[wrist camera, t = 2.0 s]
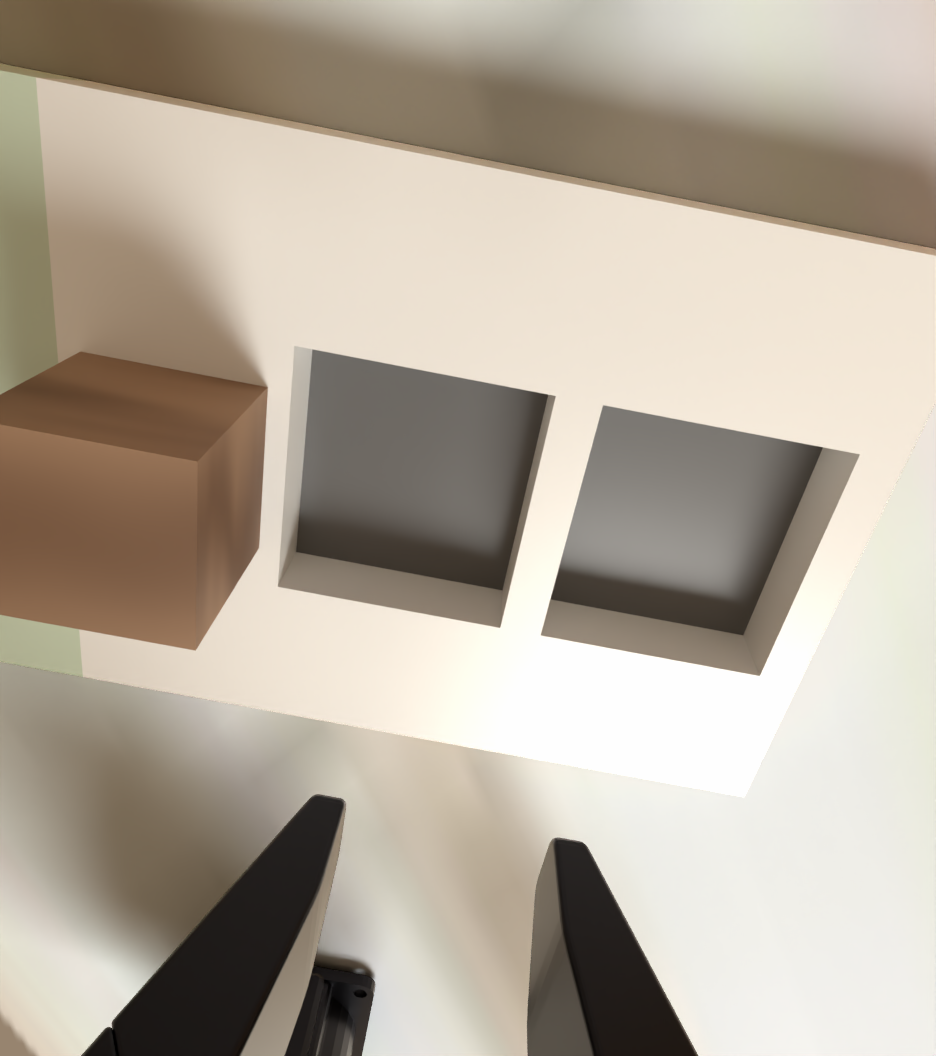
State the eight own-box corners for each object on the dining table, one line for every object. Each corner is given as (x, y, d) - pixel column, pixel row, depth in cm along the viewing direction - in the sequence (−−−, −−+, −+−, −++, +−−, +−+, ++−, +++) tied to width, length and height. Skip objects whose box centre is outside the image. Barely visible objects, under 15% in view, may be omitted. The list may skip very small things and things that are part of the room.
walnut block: (258, 547, 18) (195, 650, 15) (91, 516, 18) (-13, 612, 15) (268, 386, 17) (197, 461, 13) (80, 351, 16) (-42, 416, 13)
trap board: (727, 744, 23) (769, 876, 19) (-91, 594, 22) (-224, 698, 18) (949, 251, 16) (1084, 296, 12) (-206, 22, 16) (-453, -8, 12)
